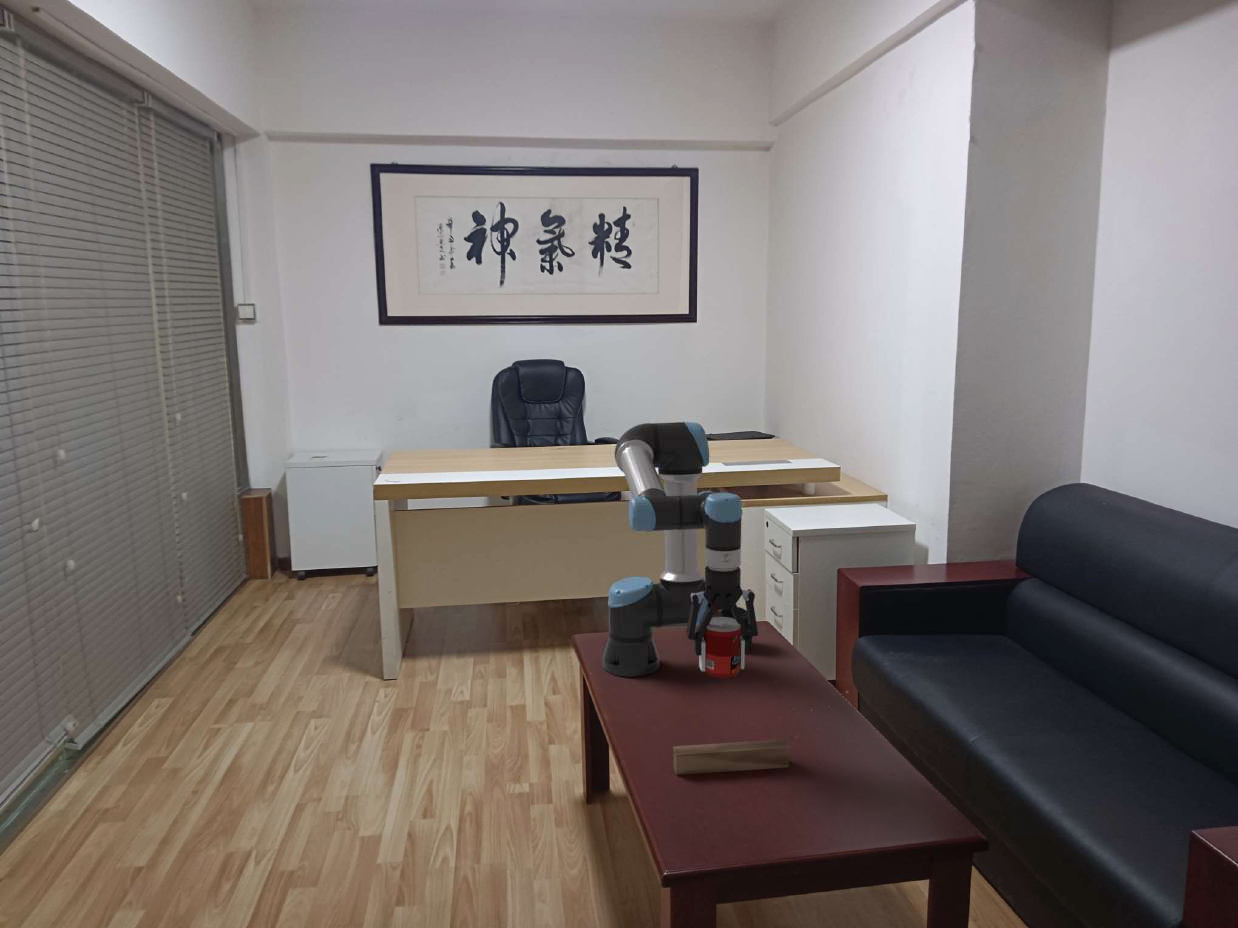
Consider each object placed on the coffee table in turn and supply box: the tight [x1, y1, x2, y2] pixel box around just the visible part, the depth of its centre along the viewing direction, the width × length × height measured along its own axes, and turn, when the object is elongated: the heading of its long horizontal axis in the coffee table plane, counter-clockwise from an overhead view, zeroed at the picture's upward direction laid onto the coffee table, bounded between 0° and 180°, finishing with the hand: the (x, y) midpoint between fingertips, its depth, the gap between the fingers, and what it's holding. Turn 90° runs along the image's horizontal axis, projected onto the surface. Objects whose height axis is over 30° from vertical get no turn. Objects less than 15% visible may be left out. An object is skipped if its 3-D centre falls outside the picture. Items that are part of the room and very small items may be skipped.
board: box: [672, 738, 791, 776], centre depth 187 cm, size 4×24×4 cm, turn 97°
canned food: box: [703, 616, 741, 678], centre depth 193 cm, size 8×8×11 cm
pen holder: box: [719, 606, 753, 650], centre depth 250 cm, size 9×9×10 cm
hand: (721, 667), depth 194 cm, fingers closed on canned food, 8 cm apart
